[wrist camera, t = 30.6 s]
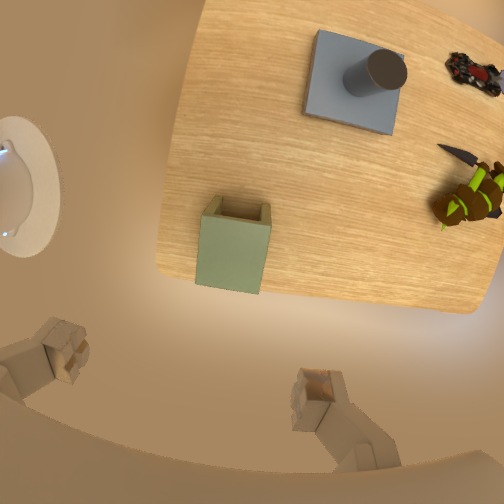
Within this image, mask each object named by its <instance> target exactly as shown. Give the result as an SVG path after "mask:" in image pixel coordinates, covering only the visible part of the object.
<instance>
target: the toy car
mask: <svg viewBox="0 0 504 504" xmlns="http://www.w3.org/2000/svg"><path fill="white" fill-rule="evenodd" d="M452 55H453V58H452V59H451V58H450V60H449V61H448V62H447V63H446V65H447V67H448V69H449V70H450V71H451V72H452V73H453V75H454V77H452V78H453V79H454V80H455V81H456V82H457V83H459V84H462V85H467V84H469V85H472V86H474V87H476V88H478V89H480V90H482V91H485V92H487V93H488V94H489V95H491V96H492V97H496V96H497V97H498V96H499V95H500V93H501V91H502V94H504V70H501V72H500V73H499V72H498V70H497V69H496V68H495V66H494V65H493V64H489V65H487V66H481V65H479V64H477V63H474V62H473V61H472V60H471V59H470V58H469V56H467V55H466V54H464V53H458V52H454V53H452ZM488 83H489V84H488Z"/></svg>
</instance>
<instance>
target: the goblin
mask: <svg viewBox="0 0 504 504" xmlns="http://www.w3.org/2000/svg"><path fill="white" fill-rule="evenodd" d="M437 145H439V146H440V147H442V148H443V149H445V150H447V151H448V152H450V153H451V154H453V155H454V156H456V157H458V158H459V159H461V160H462V161H464V162H465V163H467V164H468V165H470V166H471V167H473V166H474V164H476V165H477V166H478V169H477V171H476V173H475V175H474V176H473V178H472V180H471V181H470V183H469V184H468V186H467V185H464V184H460V185H459V186H458V188H457V190H456V192H454V193H452V194H449V193H448V194H447V195H446V196H445V197H443V198H441V199H440V200H438V201H436V202H435V203H434V205H433V211H434V214H435V215H436V217H437V218H438V219H439V221H440V222H442V223H443V225H442V230H443V229H444V228H445V227H446V226H453V225H458V224H459V223H460V222H461V220H464V221H466V219H467V220H468V221H476V220H483V219H484V218H485V217H488V218H495V219H497V218H498V217H499V216H500V215H501V214H502V211H501V209H500V204H501V202H502V196H503V193H504V166H503V165H502V164H501V163H500V162H498V161H497V162H495V163H494V169H495V170H491V172H490V171H489V166H488V165H487V164H486V163H484V162H481V163H477V162H476V161H477V159H478V158H477V157H476V156H474V155H473V154H471V153H469V152H467V151H463V150H460V149H457V148H453V147H450V146H446V145H441V144H437ZM487 173H489V174H490V176H491V178H492V179H487V180H484V181H482V179H483V178H484V176H485V174H487ZM481 181H482V182H481ZM464 217H465V218H466V219H465V218H464ZM442 230H441V231H442Z"/></svg>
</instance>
